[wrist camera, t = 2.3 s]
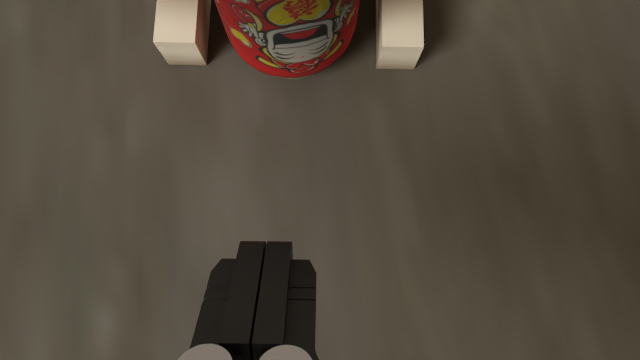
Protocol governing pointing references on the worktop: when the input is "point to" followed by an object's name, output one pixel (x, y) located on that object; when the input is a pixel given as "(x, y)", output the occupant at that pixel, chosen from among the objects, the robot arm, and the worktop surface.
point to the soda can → (289, 33)
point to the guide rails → (194, 18)
